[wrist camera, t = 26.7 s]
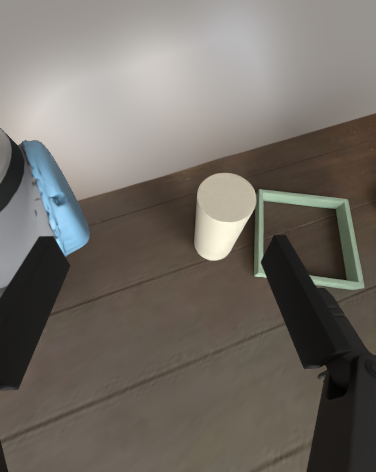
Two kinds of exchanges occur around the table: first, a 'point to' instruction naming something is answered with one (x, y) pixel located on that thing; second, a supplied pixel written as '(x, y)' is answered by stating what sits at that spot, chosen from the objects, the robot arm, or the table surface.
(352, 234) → the green square frame
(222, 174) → the pillar candle
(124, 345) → the table surface
